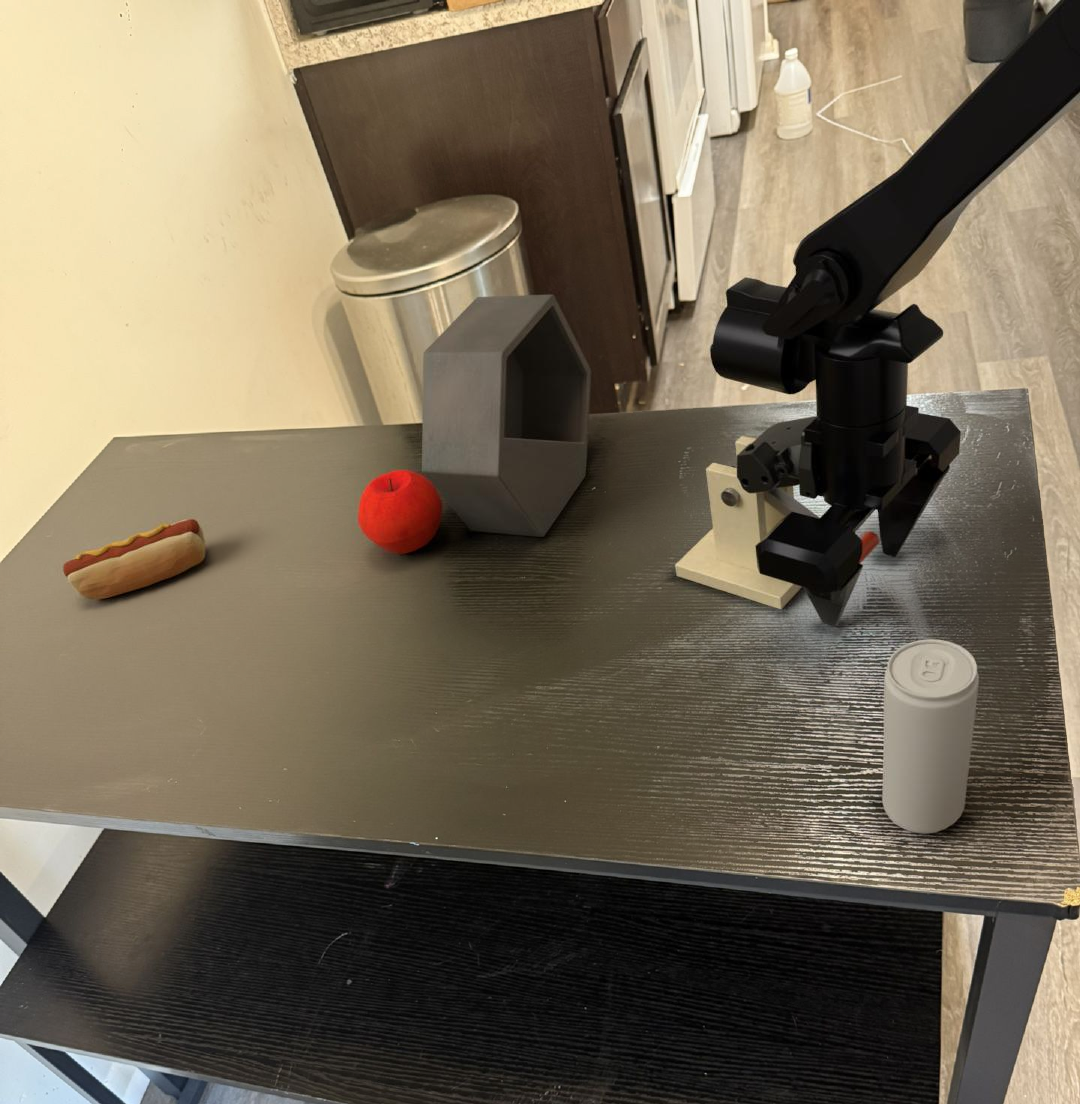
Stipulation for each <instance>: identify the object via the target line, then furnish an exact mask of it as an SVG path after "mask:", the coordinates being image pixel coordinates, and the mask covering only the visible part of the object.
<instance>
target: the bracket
mask: <svg viewBox="0 0 1080 1104" xmlns="http://www.w3.org/2000/svg"><path fill="white" fill-rule="evenodd" d="M756 439H757V438H755V437H749V436H745V435H741V436H739V438H738V439H737V440H736V441H735V442H734V444H735V454H736V456H737V455H738V454H739V453H740V452H741V451H742V450H743V449H744V448H745V447H746V446H748V445H749V444H752V443H753V442H754V441H755V440H756ZM705 473H706V481H707V482H706V483H707V490H708V497H709V499H708V500H709V505H710V506H709V507H710V514H711V523H712V528H711V529H710V530H709V531H708V532H707V533H706V534H705V535H704V536H703V537H702V538H701V539H700V540H699V541H698V542H697V543H696V544H695V545H693V547H692V548H691V549H690V550H689V551H688V552H687V553H685V554H684V555H683V556H682V557H681V558H680V559H679V561H677V562H676V563H675V564H674V568H675V574H676V577H678V578H682V579H685V580H688V581H692V582H694V583H698V584H701V585H704V586H707V587H710V588H713V589H715V590H719V591H721V592H725V593H728V594H732V595H733V596H734V595H735V596H738V597H740V598H744V599H747V600H750V601H754V602H757V603H759V604H763V605H766V606H769V607H772V608H775V609H778V610H782V609H783V608H784V607H785V606H786V605H787V604H788V603H789V602H790V601H791V600H792V599H793V597H794V596H795V595H796V594H797V593H798V592H799V591H800V590H801V589H802V588H803V587H802V586H799V585H795V584H792V583H789V582H785V581H782V580H779V579H776V578H772V577H769V576H766V575H762V574H760V573H759V570H758V568H757V558H756V547H755V546H756V545H757V544H758V543H759V542H760V541H761V540H762V539H763V538H764V537H765V536H766V535H767V534H768V533H769V532H770V531H771V530H772V529H773V527H774V526H775V525H776V524H777V523H778V522H779V521H780V520H781V519H783V518H784V517H785V516H784V515H783V514H781V513H780V512H779V511H777V510H776V509H775V508H773V507H772V506H771V505H769V504H768V503H767V502H765V501H764V492H760V493H748V492H746V491H745V490H744V489H743V488H742V486H741V484H740V481H739V480H738V478H737V468H734V467H732V466H729V465H726V464H720V463H717V462H712V463H711V464H709V465H708V466H707V467H706V468H705ZM781 489H782V490H783V491H785V492H786V493H787V494H789V495H790V496H791V497H793V498H794V499H795V494H794V486H790V487H781Z"/></svg>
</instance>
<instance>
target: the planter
mask: <svg viewBox="0 0 1080 1104" xmlns="http://www.w3.org/2000/svg"><path fill="white" fill-rule="evenodd" d="M422 359H423V360H422V364H423V365H422V429H421V431H422V433H421V434H422V435H421V442H422V443H421V445H422V446H421V473H422V474H423V476H424V477H425V478H427V479H428V480H429V481H430V482H431V483H432V484H433V485H434V487H435V489H436V491H437V493H438V494H440V495H441V497H442V498H443V500H445V502H446V503H447V505H449V506H450V508H451V509H452V510H453V512H455V514H456V515H457V516H458V517H459V519H460V520H461V521H462V522H463V524H465V526H466V527H467V528H468V529H469V531H471V532H477V533H478V532H479V533H488V534H489V533H490V534H502V535H511V536H512V535H514V536H525V537H535V538H544V537H545V536H546V535H547V533H548V532H549V530H550V529H551V528H552V526H553V524H554V523H555V521H556V520H557V518H558V517H559V515H560V514H561V512H562V511H563V510H564V508H565V507H566V506H567V504H568V503H569V501H570V499H571V498H572V497H573V495H574V494H575V492H576V491H577V489H578V488H579V486H581V484H582V482H583V481H584V479H585V478H586V475H587V461H588V460H587V459H588V458H587V457H588V443H589V442H588V439H589V420H590V404H591V382H592V370H591V368H590V365H589V364H588V361H587V359H586V357H585V355H584V354H583V351H582V350H581V346H580V345H579V343H578V341H577V339H576V336H575V335H574V333H573V330H572V329H571V327H570V325H569V323H568V321H567V319H566V317H565V314H564V313H563V310H562V309H561V306H560V304H559V303H558V301H557V298H556V296H555V295H554V294H528V295H527V294H525V295H498V296H477V297H476V298H474V299H473V301H472V302H471V303H470V304H469V305H468V306H467V307H466V308H465V309H464V310H463V311H462V312H461V313H460V314H459V315H458V316H457V317H456V318H455V320H453V321H452V322H451V323H450V325H448V327H446V329H445V330H444V331H443V332H442V333H441V334H440V335H439V336H438V337H437V338H436V339H435V340H434V341H433V342H432V343H431V344H430V345H429V346H428V347H427V348H426V349H425V350H424V351H423V358H422Z"/></svg>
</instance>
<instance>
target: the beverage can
mask: <svg viewBox="0 0 1080 1104" xmlns="http://www.w3.org/2000/svg"><path fill="white" fill-rule="evenodd" d="M979 677H980V676H979V673H978V664H977V662H976V659H975V657H974V656H973V655H972V653H971V652H970V651H969V650H967V649H966V648H964V647H963V646H962V645H959V644H956V643H954V642H952V641H947V640H942V639H932V638H929V639H921V640H915V641H912V642H908V643H906V644H904V645H902V646H900V647H899V648H898V649H896V650H895V651H894V652H893V653H892V654H891V655H890V658H889V659H888V661H887V666H886V669H885V671H884V680H883V753H882V793H881V795H882V801H881V802H882V806H883V809H884V812H885V813H886V816H887V817H888V818H889V819H890V821H892V822H893V823H894V824H895V825H896V826H898V827H900V828H901V829H903V830H905V831H908V832H912V833H915V834H924V835H925V834H926V835H928V834H934V833H935V834H936V833H937V832H940V831H943V830H946V829H948V828H949V827H950V826H952V825H954V824H955V823H956V822H957V821H958V820H959V819H960V818H961V816H962V814H963V813H964V811H965V808H966V807H965V806H966V799H967V788H968V779H969V771H970V763H971V755H972V748H973V747H972V746H973V738H974V737H973V736H974V730H975V729H974V728H975V720H976V713H977V712H976V711H977V702H978V695H979V686H980V685H979V680H980V678H979Z"/></svg>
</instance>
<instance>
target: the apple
mask: <svg viewBox="0 0 1080 1104" xmlns="http://www.w3.org/2000/svg"><path fill="white" fill-rule="evenodd" d="M442 517H443V500H442V498H441V496H440V495H439V492H438V490H437V489H436V488H435V487H434V485H433V484H432V483H431V482H430V481H429V479H428V478H427V477H426V476H425V475H424V474H423V475H422V474H420V473H417V472H415V471H412V470H409V469H396V470H392V471H390V472H387V473H383V474H380V475H378V476H376V477H375V478H374V479H372V480H370V482H369V483H368V484H367V485H366V487H365V488H364V490H363V492H362V494H361V497H360V499H359V502H358V514H357V522H358V526H359V528H360V530H361V532H362V534H364V535H365V537H366V538H367V539H368V540H370V541H371V542H373V543H374V544H375V545H376V546H378V547H379V548H381V549H384V550H385V551H387V552H389V553H393V554H398V555H404V554H409V553H412V552H415V551H417V550H419V549H421V548H423V547H425V546H427V545H428V544H429V543H430V542H431V541H432V540H433V538H434V537H435V535H436V534H437V531H438V529H439V528H440V524H441V521H442Z"/></svg>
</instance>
